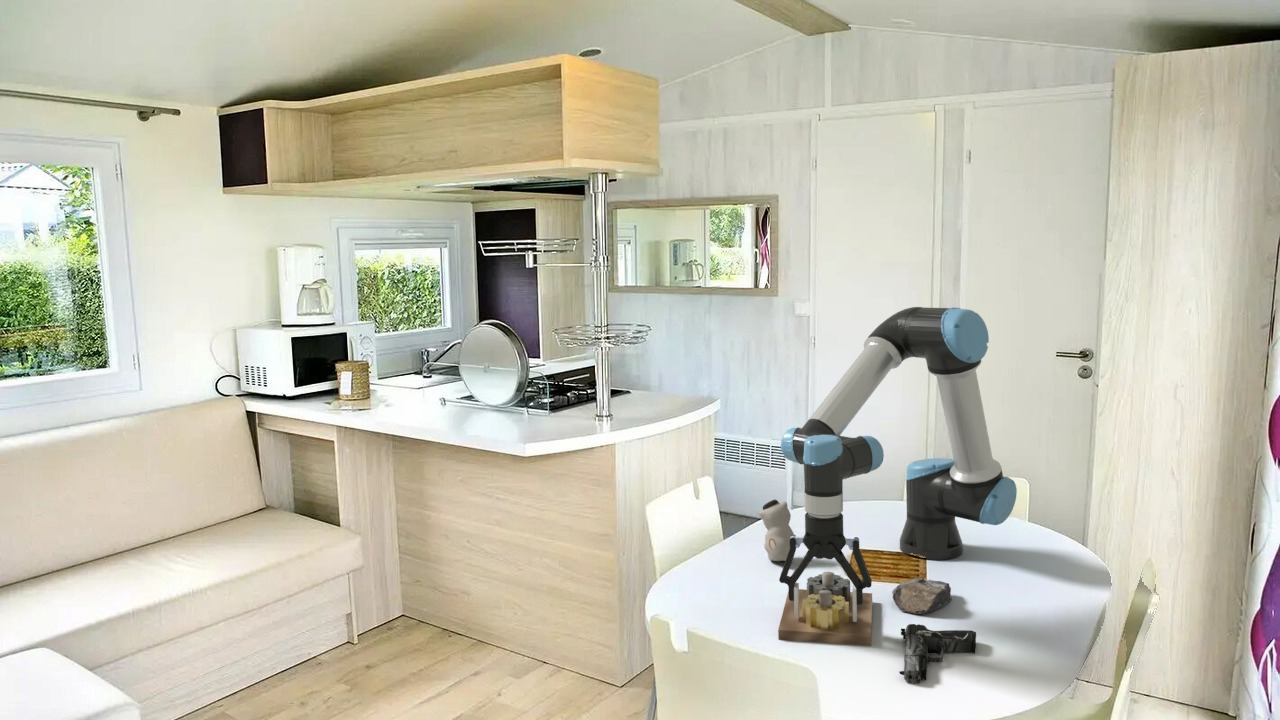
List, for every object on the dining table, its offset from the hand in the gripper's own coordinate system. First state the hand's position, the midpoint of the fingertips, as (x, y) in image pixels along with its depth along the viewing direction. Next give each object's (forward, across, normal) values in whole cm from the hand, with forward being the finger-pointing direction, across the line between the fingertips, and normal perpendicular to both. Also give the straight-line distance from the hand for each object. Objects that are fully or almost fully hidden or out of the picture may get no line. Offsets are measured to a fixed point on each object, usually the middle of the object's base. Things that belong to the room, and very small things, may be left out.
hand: (825, 617), depth 184 cm
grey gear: (0, 0, -10) cm, 11 cm away
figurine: (+3, +14, -39) cm, 42 cm away
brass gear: (+1, 0, 0) cm, 1 cm away
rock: (+3, -19, -17) cm, 26 cm away
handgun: (+3, -21, +10) cm, 24 cm away
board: (+3, 0, -5) cm, 6 cm away
